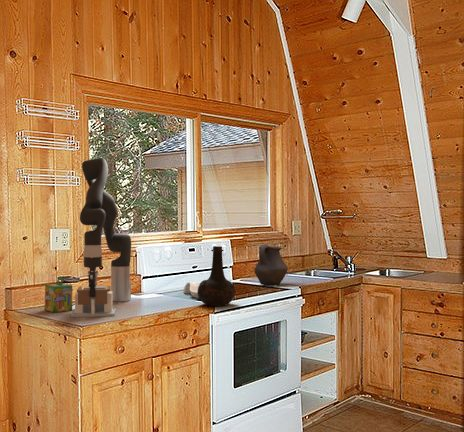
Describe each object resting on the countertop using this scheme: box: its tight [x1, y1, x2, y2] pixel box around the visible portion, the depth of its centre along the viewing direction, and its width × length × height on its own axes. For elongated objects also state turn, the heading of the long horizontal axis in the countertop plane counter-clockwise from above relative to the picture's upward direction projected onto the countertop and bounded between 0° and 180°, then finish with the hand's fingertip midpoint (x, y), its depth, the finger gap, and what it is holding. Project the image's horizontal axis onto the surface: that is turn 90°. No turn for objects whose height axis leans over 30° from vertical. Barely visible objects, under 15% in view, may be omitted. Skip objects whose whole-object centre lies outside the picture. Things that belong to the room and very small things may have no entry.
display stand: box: [70, 285, 117, 318], centre depth 244 cm, size 14×18×11 cm
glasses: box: [76, 285, 111, 305], centre depth 244 cm, size 14×13×6 cm
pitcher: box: [254, 244, 288, 286], centre depth 343 cm, size 21×22×25 cm
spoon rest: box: [182, 281, 200, 299], centre depth 298 cm, size 24×12×7 cm, turn 31°
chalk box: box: [44, 276, 73, 313], centre depth 253 cm, size 9×9×15 cm
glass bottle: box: [198, 245, 236, 307], centre depth 268 cm, size 18×18×28 cm
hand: (92, 296), depth 238 cm, fingers closed on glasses, 2 cm apart
